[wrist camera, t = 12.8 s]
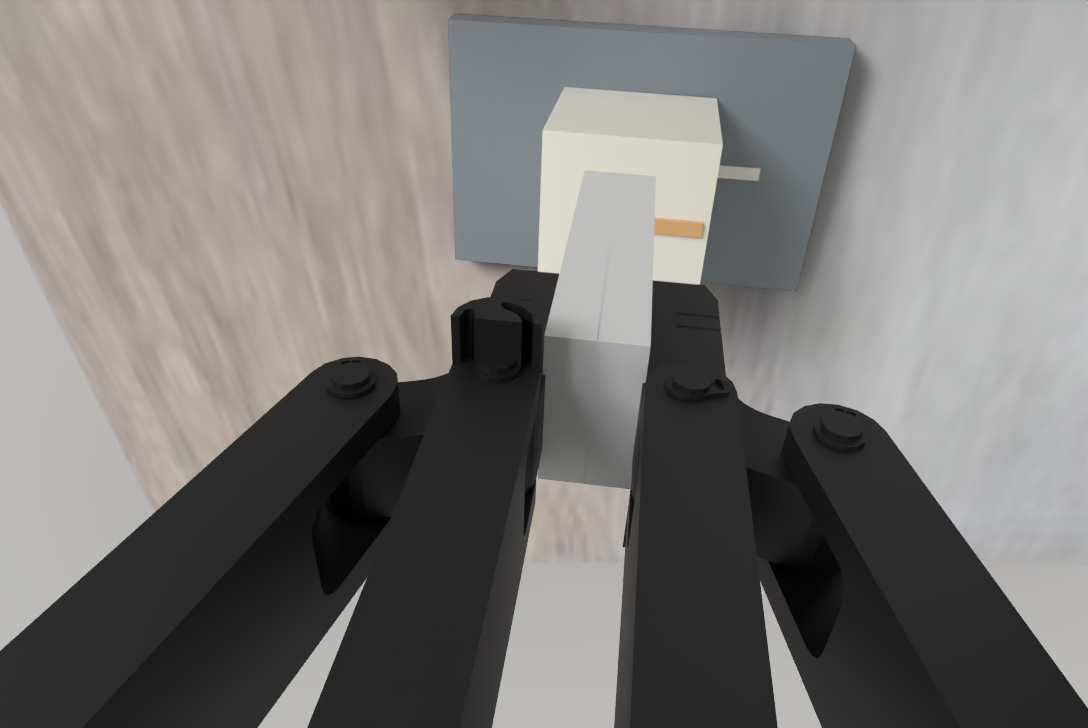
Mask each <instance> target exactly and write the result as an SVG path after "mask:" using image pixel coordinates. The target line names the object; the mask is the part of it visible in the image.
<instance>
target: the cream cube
mask: <svg viewBox="0 0 1088 728" xmlns="http://www.w3.org/2000/svg"><path fill="white" fill-rule="evenodd" d="M722 147H723V142H722V134H721V127H720V119H719V111H718V104H717V98H706V97H693V96H679V95H666V94H653V93H640V92H626V91H613V90H600V89H586V88H573V87H564V89H563V91H562V93H561V95H560V97H559V99H558V101H557V103H556V105H555V107H554V109H553V111H552V113H551V115H550V116H549V118H548V120H547V122H546V124H545V126H544V128H543V132H542V161H541V190H540V219H539V248H538V272H547V273H558V274H559V273H560V269H561V265H562V261H563V257H564V253H565V249H566V245H567V240H568V236H569V232H570V228H571V224H572V220H573V216H574V212H575V208H576V203H577V199H578V195H579V191H580V187H581V183H582V179H583V175H584V171H585V170H587V171H600V172H612V173H624V174H636V175H648V176H656V192H655V224H654V256H653V280H654V281H665V282H675V283H686V284H697V285H700V280H701V274H702V268H703V262H704V256H705V250H706V244H707V238H708V232H709V226H710V220H711V214H712V208H713V202H714V196H715V190H716V183H717V177H718V171H719V165H720V159H721V153H722Z"/></svg>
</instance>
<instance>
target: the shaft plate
mask: <svg viewBox="0 0 1088 728" xmlns="http://www.w3.org/2000/svg"><path fill="white" fill-rule="evenodd" d="M448 38H449V70H450V103H451V135H452V168H453V200H454V233H455V259H456V260H467V261H478V262H488V263H499V264H510V265H521V266H531V267H538V248H539V219H540V190H541V161H542V132H543V128H544V126H545V124H546V122H547V120H548V118H549V116H550V115H551V113H552V111H553V109H554V107H555V105H556V103H557V101H558V99H559V97H560V95H561V93H562V91H563V89H564V87H573V88H586V89H600V90H613V91H626V92H640V93H653V94H666V95H679V96H693V97H706V98H717V104H718V111H719V119H720V127H721V134H722V142H723V147H722V153H721V159H720V165H719V171H718V177H717V183H716V190H715V196H714V202H713V208H712V214H711V220H710V226H709V232H708V238H707V244H706V250H705V256H704V262H703V268H702V274H701V280H700V282H703V283H714V284H724V285H735V286H746V287H757V288H767V289H778V290H789V291H796V290H797V286H798V282H799V278H800V273H801V269H802V265H803V261H804V257H805V253H806V249H807V245H808V241H809V237H810V232H811V228H812V224H813V220H814V216H815V212H816V208H817V204H818V200H819V196H820V191H821V187H822V183H823V179H824V175H825V171H826V167H827V163H828V159H829V154H830V150H831V146H832V142H833V138H834V134H835V130H836V126H837V122H838V118H839V113H840V109H841V105H842V101H843V97H844V93H845V89H846V85H847V81H848V77H849V72H850V68H851V64H852V60H853V56H854V52H855V48H856V45H855V44H854V43H853V42H852V41H851V40H850V39H846V38H830V37H814V36H798V35H783V34H767V33H751V32H735V31H719V30H704V29H688V28H672V27H656V26H641V25H625V24H609V23H593V22H578V21H562V20H546V19H530V18H514V17H499V16H483V15H467V14H455V15H453V16H452V17H451V18H449V19H448Z"/></svg>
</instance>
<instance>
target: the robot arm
mask: <svg viewBox="0 0 1088 728" xmlns="http://www.w3.org/2000/svg"><path fill="white" fill-rule="evenodd" d="M655 192H656V176H648V175H636V174H624V173H612V172H600V171H587V170H585V171H584V175H583V179H582V183H581V187H580V191H579V195H578V199H577V203H576V208H575V212H574V216H573V220H572V224H571V228H570V232H569V236H568V240H567V245H566V249H565V253H564V257H563V261H562V265H561V269H560V273H559V274H558V273H547V272H537V271H526V270H515V269H512V270H511V271H509V272H508V273H507V274H505V275H504V276H503V277H502V278H500V279H499V280H498V281H496V284H495V286H494V289H493V292H492V294H491V297H487V298H482V299H477V300H473V301H470V302H468V303H466V304H464V305H462V306H460V307H458V308H457V309H456V310H455V311H454V313H453V314H452V315H451V334H452V361H453V364H452V366H451V369H450V371H449V373H447V374H445V375H442V376H439V377H436V378H431V379H426V380H419V381H409V382H398V380H397V373H396V372H395V371H394V370H393V369H392V368H391V367H390V365H388V364H386V363H384V362H381V361H379V360H377V359H372V358H364V357H352V358H350V357H349V358H341V359H338V360H335V361H332V362H329V363H326V364H324V365H322V366H321V367H319V368H317V369H316V370H314V371H313V372H311V373H310V374H309V375H308V376H307V377H306V378H305V379H304V380H302V381H301V382H300V383H299V384H298V385H297V386H296V387H295V388H294V389H292V390H291V391H290V392H289V393H288V394H287V395H286V396H285V397H283V398H282V399H281V400H280V401H279V402H278V403H277V404H276V405H275V406H273V407H272V408H271V409H270V410H269V411H268V412H267V413H266V414H264V415H263V416H262V417H261V418H260V419H259V420H258V421H257V422H256V423H254V424H253V425H252V426H251V427H250V428H249V429H248V430H247V431H245V432H244V433H243V434H242V435H241V436H240V437H239V438H238V439H237V440H235V441H234V442H233V443H232V444H231V445H230V446H229V447H228V448H226V449H225V450H224V451H223V452H222V453H221V454H220V455H219V456H218V457H216V458H215V459H214V460H213V461H212V462H211V463H210V464H209V465H207V466H206V467H205V468H204V469H203V470H202V471H201V472H200V473H199V474H197V475H196V476H195V477H194V478H193V479H192V480H191V481H190V482H189V483H187V484H186V485H185V486H184V487H183V488H182V489H181V490H180V491H178V492H177V493H176V494H175V495H174V496H173V497H172V498H171V499H170V500H168V501H167V502H166V503H165V504H164V505H163V506H162V507H161V508H159V509H158V510H157V511H156V512H155V513H154V514H153V515H152V516H151V517H149V518H148V519H147V520H146V521H145V522H144V523H143V524H142V525H140V526H139V527H138V528H137V529H136V530H135V531H134V532H133V533H132V534H130V535H129V536H128V537H127V538H126V539H125V540H124V541H123V542H121V543H120V544H119V545H118V546H117V547H116V548H115V549H114V550H113V551H111V552H110V553H109V554H108V555H107V556H106V557H105V558H104V559H103V560H101V561H100V562H99V563H98V564H97V565H96V566H95V567H94V568H92V569H91V570H90V571H89V572H88V573H87V574H86V575H85V576H83V577H82V578H81V579H80V580H79V581H78V582H77V583H76V584H75V585H73V586H72V587H71V588H70V589H69V590H68V591H67V592H66V593H64V594H63V595H62V596H61V597H60V598H59V599H58V600H57V601H56V602H54V603H53V604H52V605H51V606H50V607H49V608H48V609H47V610H46V611H44V612H43V613H42V614H41V615H40V616H39V617H38V618H37V619H35V620H34V621H33V622H32V623H31V624H30V625H29V626H28V627H26V628H25V630H23V631H22V632H21V633H20V634H19V635H18V636H16V637H15V638H14V639H13V640H12V641H11V642H10V643H9V644H8V645H6V646H5V647H4V648H3V649H2V650H1V651H0V728H258V726H259V725H260V723H261V722H262V721H263V719H264V718H265V716H266V715H267V714H268V712H269V711H270V710H271V708H272V707H273V706H274V704H275V703H276V702H277V700H278V699H279V697H280V696H281V695H282V693H283V692H284V691H285V689H286V688H287V686H288V685H289V684H290V682H291V681H292V679H293V678H294V677H295V675H296V674H297V673H298V671H299V670H300V669H301V667H302V666H303V664H304V663H305V662H306V660H307V659H308V658H309V656H310V655H311V654H312V652H313V651H314V649H315V648H316V647H317V645H318V644H319V643H320V641H321V640H322V638H323V637H324V636H325V634H326V633H327V632H328V630H329V629H330V628H331V626H332V625H333V623H334V622H335V621H336V619H337V618H338V616H339V615H340V614H341V612H342V611H343V610H344V608H345V607H346V606H347V604H348V603H349V602H350V600H351V599H352V597H353V596H354V595H355V593H356V592H357V590H358V589H359V588H360V586H361V585H362V584H363V582H364V581H365V580H366V578H367V580H366V582H365V585H364V587H363V590H362V592H361V595H360V597H359V600H358V602H357V605H356V607H355V610H354V612H353V615H352V617H351V620H350V622H349V625H348V628H347V630H346V632H345V635H344V637H343V640H342V642H341V645H340V648H339V650H338V652H337V655H336V658H335V660H334V662H333V665H332V667H331V670H330V673H329V675H328V678H327V680H326V682H325V685H324V688H323V690H322V693H321V695H320V698H319V700H318V703H317V705H316V708H315V710H314V713H313V715H312V718H311V720H310V723H309V725H308V728H492V724H493V718H494V713H495V708H496V703H497V698H498V693H499V687H500V682H501V677H502V672H503V667H504V661H505V656H506V651H507V646H508V641H509V635H510V630H511V625H512V620H513V615H514V609H515V604H516V598H517V594H518V589H519V583H520V578H521V573H522V568H523V563H524V558H525V552H526V547H527V542H528V537H529V532H530V526H531V521H532V516H533V511H534V506H535V495H536V477H537V472H538V478H540V479H548V480H557V481H565V482H574V483H582V484H591V485H599V486H608V487H617V488H625V489H631V491H630V498H629V506H628V513H627V520H626V527H625V535H624V542H623V547H625V562H624V578H623V594H622V611H621V627H620V643H619V659H618V675H617V693H616V708H615V724H614V728H778V727H777V720H776V711H775V702H774V694H773V686H772V678H771V669H770V661H769V653H768V644H767V636H766V629H765V620H764V611H763V603H762V595H761V587H760V581H761V583H762V586H763V588H764V590H765V593H766V595H767V598H768V600H769V602H770V605H771V607H772V610H773V612H774V614H775V617H776V619H777V621H778V624H779V626H780V628H781V631H782V633H783V635H784V638H785V640H786V643H787V645H788V648H789V650H790V652H791V655H792V657H793V660H794V662H795V664H796V666H797V669H798V671H799V674H800V676H801V678H802V681H803V683H804V685H805V688H806V690H807V693H808V695H809V698H810V700H811V702H812V705H813V707H814V710H815V712H816V714H817V717H818V719H819V721H820V724H821V726H822V728H1088V708H1087V707H1086V705H1085V704H1084V703H1083V701H1082V700H1081V698H1080V697H1079V696H1078V694H1077V693H1076V692H1075V690H1074V689H1073V687H1072V686H1071V685H1070V683H1069V682H1068V681H1067V679H1066V678H1065V676H1064V675H1063V674H1062V672H1061V671H1060V670H1059V668H1058V667H1057V665H1056V664H1055V663H1054V661H1053V660H1052V659H1051V657H1050V656H1049V655H1048V653H1047V652H1046V650H1045V649H1044V648H1043V646H1042V645H1041V643H1040V642H1039V641H1038V639H1037V638H1036V637H1035V635H1034V634H1033V633H1032V631H1031V630H1030V628H1029V627H1028V626H1027V624H1026V623H1025V622H1024V620H1023V619H1022V617H1021V616H1020V615H1019V613H1018V612H1017V611H1016V609H1015V608H1014V606H1013V605H1012V604H1011V602H1010V601H1009V600H1008V598H1007V597H1006V596H1005V594H1004V593H1003V591H1002V590H1001V589H1000V587H999V586H998V585H997V583H996V582H995V580H994V579H993V578H992V577H991V575H990V573H989V572H988V571H987V569H986V568H985V567H984V565H983V564H982V563H981V561H980V560H979V558H978V557H977V556H976V554H975V553H974V552H973V550H972V549H971V547H970V546H969V545H968V543H967V542H966V541H965V539H964V538H963V536H962V535H961V534H960V532H959V531H958V530H957V528H956V527H955V525H954V524H953V523H952V521H951V520H950V519H949V517H948V516H947V514H946V513H945V512H944V510H943V509H942V508H941V506H940V505H939V504H938V502H937V501H936V499H935V498H934V497H933V495H932V494H931V493H930V491H929V490H928V488H927V487H926V486H925V484H924V483H923V482H922V480H921V479H920V477H919V476H918V475H917V473H916V472H915V471H914V469H913V468H912V466H911V465H910V464H909V462H908V461H907V460H906V458H905V457H904V455H903V454H902V453H901V451H900V450H899V449H898V447H897V446H896V445H895V443H894V442H893V440H892V439H891V438H890V436H889V435H888V434H887V432H886V431H885V430H884V429H883V428H882V427H881V426H880V425H879V424H878V423H877V422H876V421H875V420H873V419H872V418H870V417H868V416H866V415H864V414H863V413H861V412H859V411H857V410H854V409H851V408H847V407H844V406H840V405H833V404H821V403H820V404H814V405H809V406H804V407H802V408H801V409H799V410H798V411H796V412H795V413H793V416H792V418H791V421H790V422H788V421H785V420H782V419H779V418H776V417H773V416H769V415H767V414H764V413H762V412H759V411H757V410H754V409H753V408H751V407H749V406H747V405H746V404H744V403H743V402H742V401H740V400H739V399H738V396H737V391H736V389H735V387H734V384H733V382H732V381H731V380H729V379H728V378H727V377H726V373H725V364H724V355H723V346H722V336H721V333H720V331H721V327H720V320H719V309H718V300H717V299H716V298H715V297H714V296H713V295H712V293H711V292H710V291H709V290H708V289H707V288H706V286H705V285H697V284H686V283H675V282H665V281H654V280H653V256H654V224H655ZM538 467H539V470H538Z"/></svg>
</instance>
